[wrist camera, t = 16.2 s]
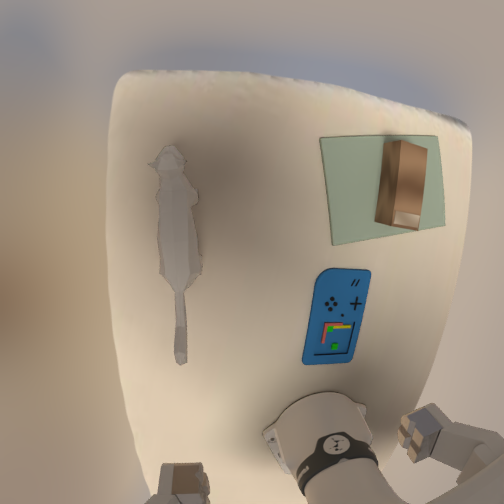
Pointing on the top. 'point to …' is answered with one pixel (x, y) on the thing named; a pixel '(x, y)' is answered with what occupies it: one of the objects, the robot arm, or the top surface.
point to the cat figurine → (177, 237)
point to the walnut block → (401, 185)
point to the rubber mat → (373, 186)
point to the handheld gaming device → (336, 316)
